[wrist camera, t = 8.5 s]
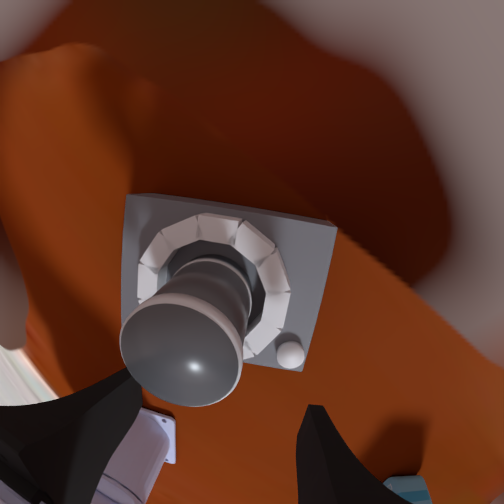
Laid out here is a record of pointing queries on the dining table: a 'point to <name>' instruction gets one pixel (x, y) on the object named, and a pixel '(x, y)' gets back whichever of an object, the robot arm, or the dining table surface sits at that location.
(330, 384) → the dining table surface
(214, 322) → the lens
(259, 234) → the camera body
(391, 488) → the data package
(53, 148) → the dining table surface
